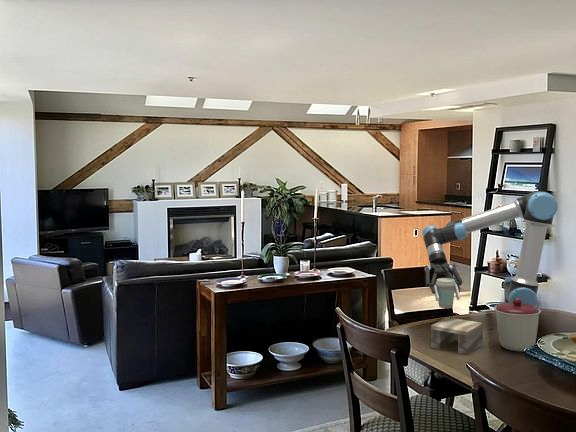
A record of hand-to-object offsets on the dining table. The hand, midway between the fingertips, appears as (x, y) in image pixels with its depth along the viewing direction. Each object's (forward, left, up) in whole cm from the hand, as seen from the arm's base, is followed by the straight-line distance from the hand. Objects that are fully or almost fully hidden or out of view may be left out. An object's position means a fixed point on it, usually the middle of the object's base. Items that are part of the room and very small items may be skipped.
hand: (448, 299), depth 238 cm
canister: (-25, -11, -20) cm, 34 cm away
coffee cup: (+2, -3, -4) cm, 6 cm away
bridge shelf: (-4, +1, -20) cm, 20 cm away
